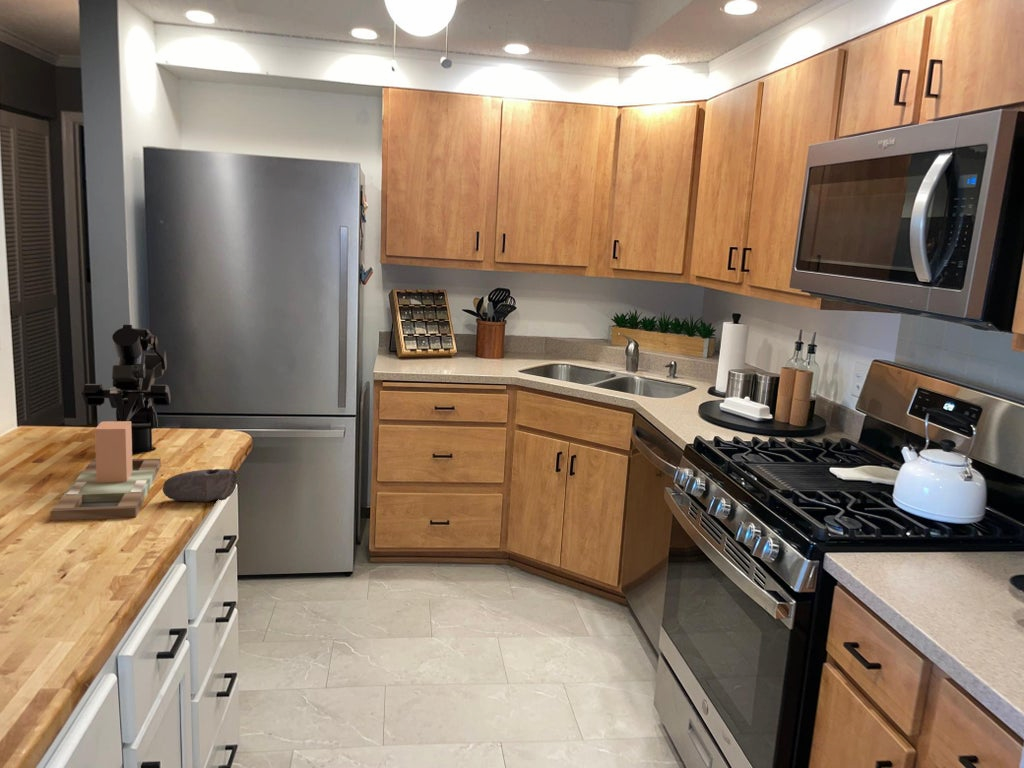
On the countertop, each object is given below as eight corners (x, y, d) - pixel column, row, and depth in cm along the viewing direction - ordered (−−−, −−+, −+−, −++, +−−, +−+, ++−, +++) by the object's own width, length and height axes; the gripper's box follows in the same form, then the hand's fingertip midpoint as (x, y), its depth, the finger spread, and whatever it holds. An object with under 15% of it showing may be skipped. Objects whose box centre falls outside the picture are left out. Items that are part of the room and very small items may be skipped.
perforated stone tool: (160, 505, 160) (159, 474, 159) (165, 497, 165) (164, 466, 164) (235, 504, 164) (235, 473, 162) (237, 496, 169) (237, 466, 167)
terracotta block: (103, 472, 172) (101, 421, 170) (132, 471, 174) (131, 421, 171) (96, 482, 165) (94, 429, 163) (126, 481, 167) (125, 428, 165)
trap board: (92, 467, 181) (92, 459, 180) (160, 466, 185) (160, 457, 185) (51, 520, 148) (50, 510, 147) (135, 517, 152) (135, 506, 152)
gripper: (81, 350, 177) (71, 406, 169) (168, 352, 183) (162, 406, 174) (90, 377, 186) (81, 431, 178) (172, 378, 192) (167, 431, 183)
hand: (123, 424), depth 178 cm, fingers closed
